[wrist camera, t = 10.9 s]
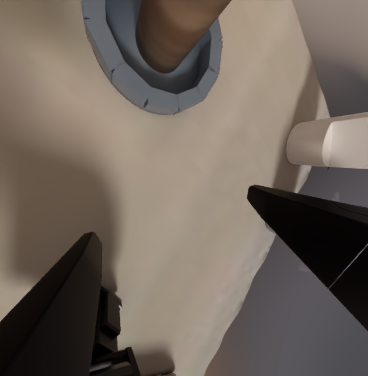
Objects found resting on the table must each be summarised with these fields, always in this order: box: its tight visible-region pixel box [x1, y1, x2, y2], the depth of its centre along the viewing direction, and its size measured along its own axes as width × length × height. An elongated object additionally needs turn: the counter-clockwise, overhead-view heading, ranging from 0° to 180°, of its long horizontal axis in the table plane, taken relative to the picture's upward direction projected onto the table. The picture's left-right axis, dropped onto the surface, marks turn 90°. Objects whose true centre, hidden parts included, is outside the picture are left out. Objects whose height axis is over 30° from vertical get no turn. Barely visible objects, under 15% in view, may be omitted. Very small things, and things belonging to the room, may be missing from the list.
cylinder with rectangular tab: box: [286, 112, 368, 169], centre depth 27 cm, size 9×9×12 cm
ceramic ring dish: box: [82, 0, 223, 115], centre depth 14 cm, size 13×13×3 cm
